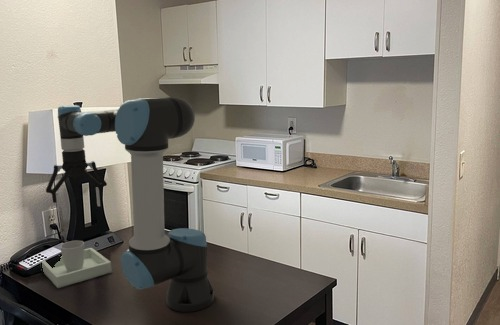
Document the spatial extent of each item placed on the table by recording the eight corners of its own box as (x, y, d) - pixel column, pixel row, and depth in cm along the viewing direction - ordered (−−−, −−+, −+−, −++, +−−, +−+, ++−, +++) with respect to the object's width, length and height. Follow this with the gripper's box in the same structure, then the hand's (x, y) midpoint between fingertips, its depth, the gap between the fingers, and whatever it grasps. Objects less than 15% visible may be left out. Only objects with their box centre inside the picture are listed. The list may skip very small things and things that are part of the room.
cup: (91, 268, 171) (88, 242, 169) (73, 276, 164) (71, 250, 162) (75, 264, 174) (73, 239, 172) (58, 272, 167) (55, 246, 165)
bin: (111, 272, 168) (111, 262, 167) (57, 288, 156) (56, 277, 155) (92, 257, 183) (91, 247, 182) (41, 270, 171) (40, 260, 170)
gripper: (108, 145, 169) (113, 201, 173) (34, 151, 158) (40, 210, 162) (111, 147, 162) (116, 205, 166) (34, 154, 152) (41, 216, 156)
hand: (79, 208), depth 164 cm, fingers open, 13 cm apart
